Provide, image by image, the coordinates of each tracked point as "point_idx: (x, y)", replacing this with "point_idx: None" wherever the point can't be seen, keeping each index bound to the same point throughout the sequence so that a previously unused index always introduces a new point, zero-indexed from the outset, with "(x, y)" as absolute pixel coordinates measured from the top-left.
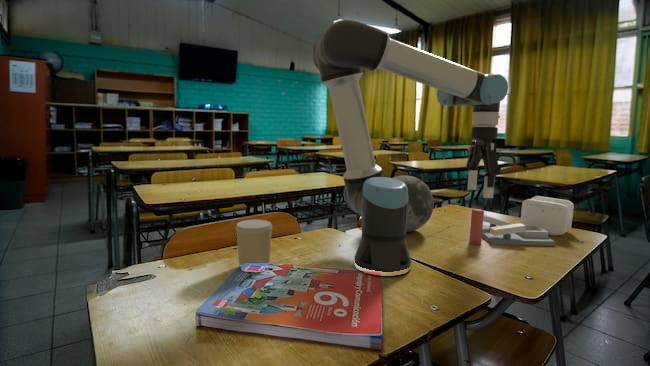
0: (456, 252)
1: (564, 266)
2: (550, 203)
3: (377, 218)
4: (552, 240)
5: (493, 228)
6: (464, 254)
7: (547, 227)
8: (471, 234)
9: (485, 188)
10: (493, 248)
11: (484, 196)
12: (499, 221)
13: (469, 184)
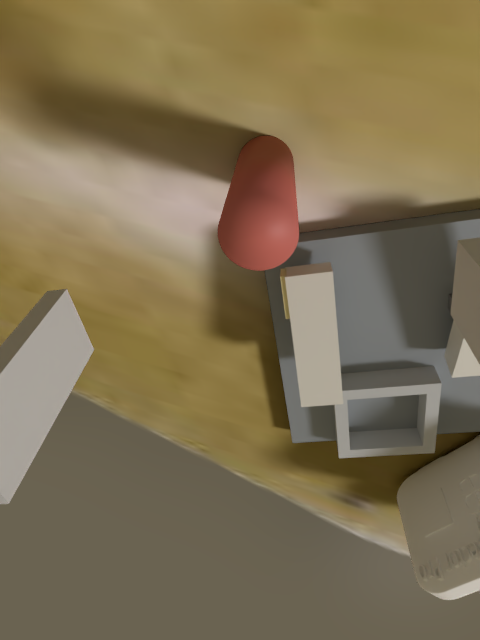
0: (79, 30)
1: (90, 388)
2: (476, 575)
3: None
4: (302, 440)
5: (309, 281)
6: (66, 72)
7: (440, 477)
8: (247, 152)
9: (7, 346)
10: (206, 231)
11: (41, 300)
12: (459, 342)
13: (478, 278)
